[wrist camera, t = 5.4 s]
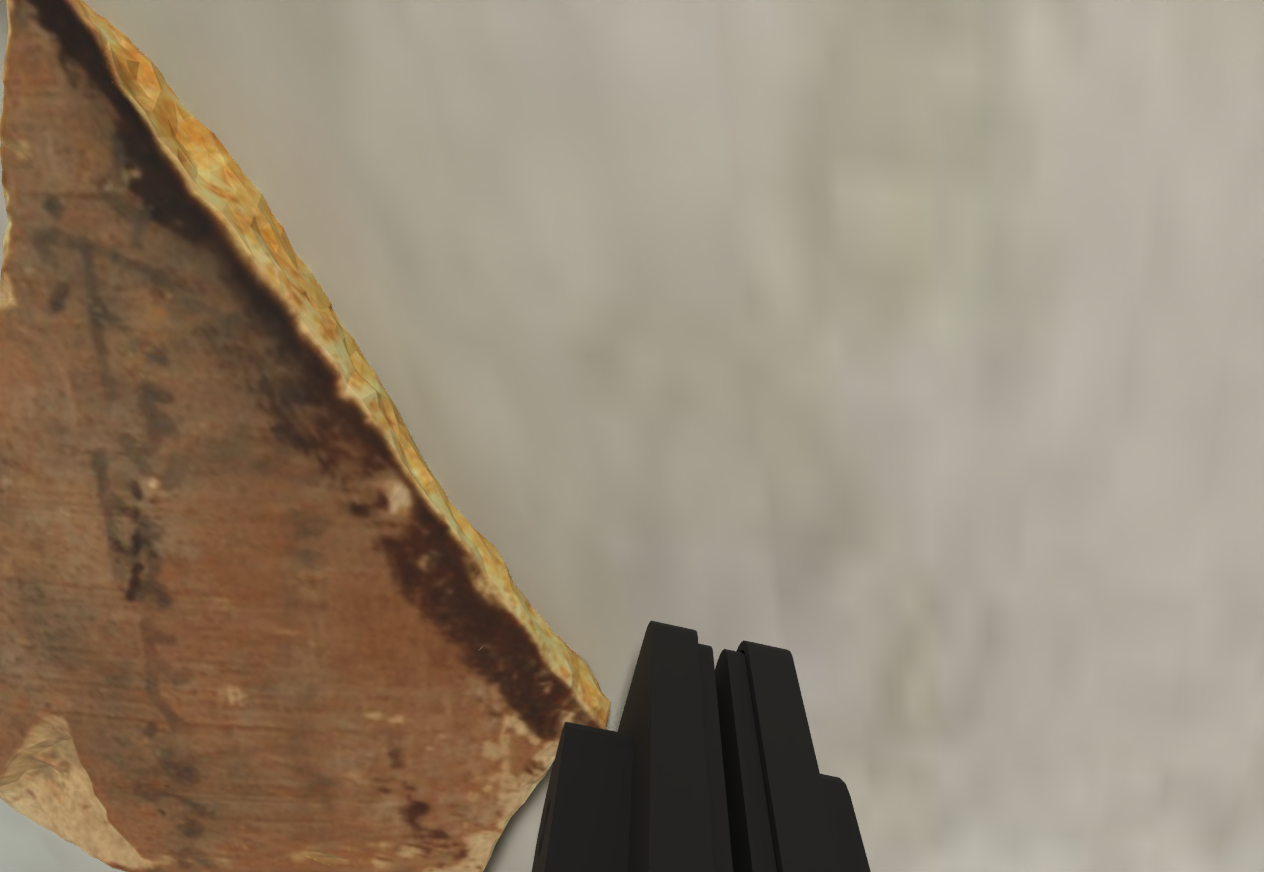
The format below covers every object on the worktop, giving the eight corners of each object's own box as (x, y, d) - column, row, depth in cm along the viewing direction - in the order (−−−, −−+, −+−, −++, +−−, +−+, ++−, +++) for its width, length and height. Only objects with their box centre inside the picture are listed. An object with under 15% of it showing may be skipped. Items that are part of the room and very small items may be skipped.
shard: (104, -51, 9) (-27, -84, 7) (798, 194, 10) (825, 217, 8) (35, 738, 13) (-60, 835, 11) (529, 876, 14) (508, 987, 12)
